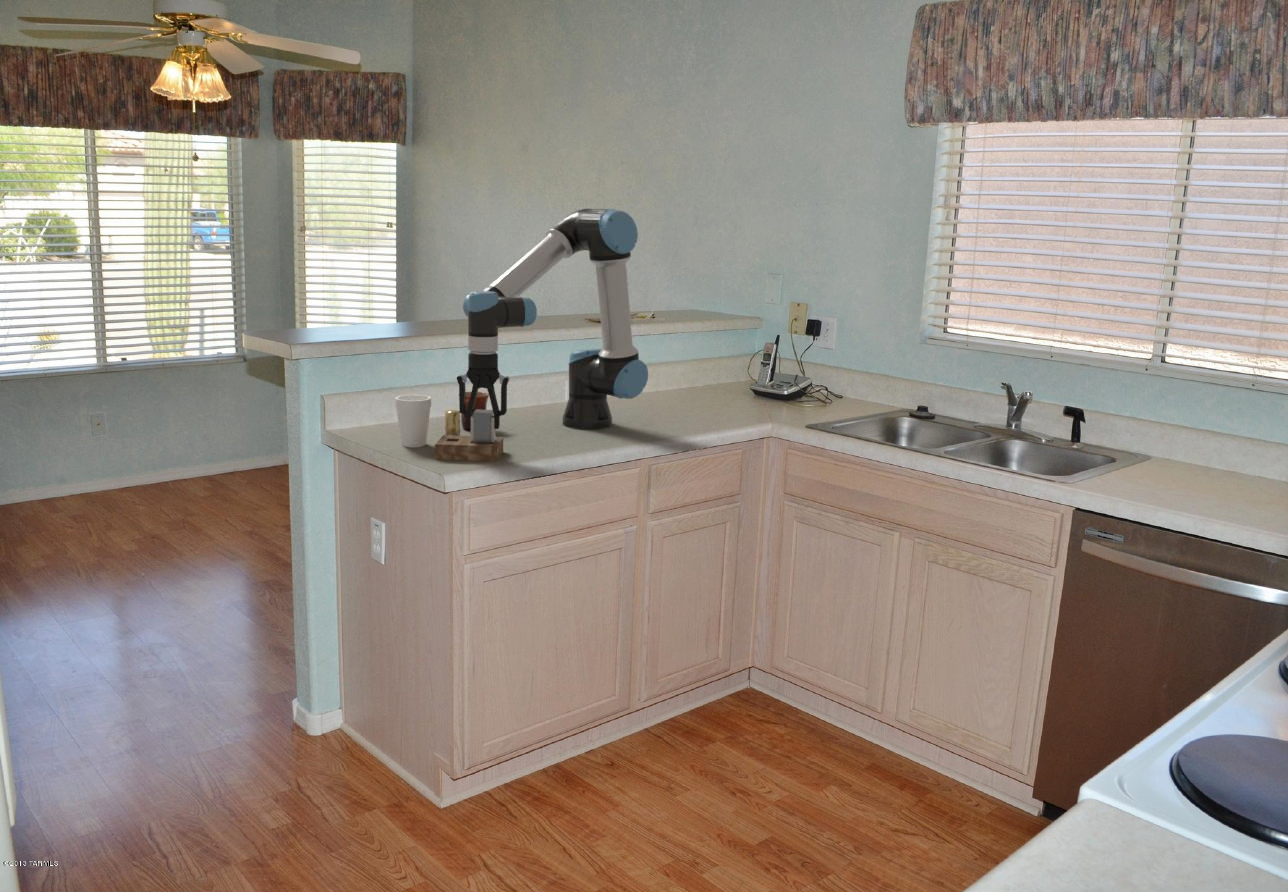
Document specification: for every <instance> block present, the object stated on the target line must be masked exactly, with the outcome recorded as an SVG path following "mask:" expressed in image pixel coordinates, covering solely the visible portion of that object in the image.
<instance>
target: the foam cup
mask: <svg viewBox="0 0 1288 892" xmlns="http://www.w3.org/2000/svg"><path fill="white" fill-rule="evenodd" d="M394 399H395V401H394V402H395V409H396V413H397V423H398V427H399V435H400V439H401V441H400V442H401V446H403V447H405V448H421V447H425V446H426V445H427V440H428V439H427V438H428V429H429V422H430V414H431V413H430V412H431V408H432V397H431V396H429V395H425V394H403V395H398V396H396V397H395V398H394Z"/></svg>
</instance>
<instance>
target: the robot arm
mask: <svg viewBox="0 0 1288 892" xmlns="http://www.w3.org/2000/svg"><path fill="white" fill-rule="evenodd" d="M638 233H639V232H638V227H637V225H636V222H635V220H634V219H633V217H632V216H631V215H630V214H629V213H627V212H626V211H623V210H620V209H619V210H618V209H615V208H608V209H607V208H582V209H578V210H576V211H574V212H572V213H570V214H568V215H566V216H564V217H563V218H562V219H561V220H560V221H557V223H556V224H554V225H553V226H551V228H549V229H548V230H547V231H546V233H545V237H544V238H543V239H542V240H541V241H540V242H539V243H537V244H536V245H535V246H534V247H533V248H531V250H529V251H528V252H526V254H525V255H523V256H522V257H521V258H520V259H519V260H518V261H516V262H515V263H514V264H513V265H512V266H510V268H508V269H507V270H506V271H505V272H503V273H502V274H501V275H500V276H498V278H497V279H495V280H494V281H493V282H492V283H490V284H489V285H488V286H487V287H486V288H484V289H483V290H476V291H471V292H470V293H469V294H467V296H466V297H465V298H464V300H463V303H462V309H463V313H464V315H465V317H467V322H468V324H467V325H468V326H467V327H468V329H467V330H468V332H467V333H468V334H467V336H468V337H467V341H468V343H467V347H468V351H470V352H469V353H468V355H467V356H468V361H467V362H468V363H467V364H468V367H467V370H466V373H464V374H459V375H458V376H457V377H456V380H457V383H458V393H459V394H458V400H459V401H458V402H459V403H458V404H459V405H458V407H459V410H458V411H459V412H460V415H461V414H465V415H466V416H467V428H471V430H470V436H471V441H474V440H473V415H472V413H473V409H474V405H475V400H476V396H477V392H479V389H486V390H487V393H488V394H489V397H488V398H489V399H490V405H491V410H493V416H492V417H491V442H494V441H495V437H497V436H496V432H497V431H496V430H499V428H500V426H501V425H500V421H501V420H500V417H501V416H504V415H505V414H507V412H508V409H507V408H508V407H507V406H508V405H507V404H508V384H509V382H510V377H509V376H504V375H502V374H501V373H500V371H499V355H498V353H497V351H498V350H499V338H498V337H499V329H501V328H518V327H520V328H523V327H527V326H531V325H533V324H534V323H535V321H536V319H537V317H538V314H537V311H538V309H537V306H536V303H535V302H534V300H532V299H531V298H529V297H522V296H521V295H523V293H525V292H526V291H527V290H528V289H530V288H531V287H532V286H533V285H534V284H535V283H536V282H538V280H540V279H541V278H542V277H543V276H544V275H546V274H547V273H548V272H549V271H550V270H551V269H552V268H554V267H555V266H556V265H557V264H559V262H560V261H562V260H563V259H569V258H571V257H572V256H573V255H574V254H575V253H579V252H581V251H588V255H589V256H588V257H589V261H590V262H591V263H593V264H594V265H595V271H596V282H597V283H596V284H597V294H598V304H599V306H598V307H599V317H600V327H601V328H600V329H601V338H602V339H601V340H602V348H591V349H589V348H587V349H576V350H573V351H571V352H570V354H569V362H568V400H567V403H566V406H565V408H564V409H565V410H564V412H563V413H562V414H563V415H562V425H563V426H565V427H568V428H572V429H582V430H599V429H606V428H610V427H612V425H613V416H612V413H611V409H610V406H609V403H608V396H611V397H614V398H617V399H627V400H631V399H634V398H636V397H638V396H639V395H641V393H642V392H643V391H644V389H645V387H646V386H647V383H648V380H649V369H648V366H647V364H645V362H644V361H643V360H641V359H640V358H639V350H638V348H637V347H636V346H634V345H633V336H632V335H633V334H632V324H631V323H632V322H631V320H632V319H631V309H630V308H631V307H630V295H629V287H628V286H629V284H628V283H629V282H628V274H627V273H628V271H627V263H628V261H629V260H630V259H631V258H632V255H631V251H632V252H633V250H634V248H635V247H636V243H637V242H638V235H639V234H638ZM467 379H468V380H469V382H470V383H471V384H472V389H471V391H470V392H471V396H470V401H469V405H468V409H466V392H467V390H466V383H467ZM498 380H499V384H500V385H501V386H500V408H499V403H498V400H497V395H496V390H495V386H494V385H495V383H496V382H497V381H498Z"/></svg>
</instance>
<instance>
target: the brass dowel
mask: <svg viewBox="0 0 1288 892" xmlns="http://www.w3.org/2000/svg"><path fill="white" fill-rule="evenodd" d="M444 423H445V425H444V426H445V427H444V428H445V431H444V432H445V434H444V435H455V436H461V413H460V412H459V410H457V409H456V410H455V409H448V410H445V412H444Z"/></svg>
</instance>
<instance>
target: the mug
mask: <svg viewBox="0 0 1288 892" xmlns="http://www.w3.org/2000/svg"><path fill="white" fill-rule="evenodd" d="M471 392H472V391H466V409H468V405H469V401H470V396H471ZM489 398H490V397H489V393H488V392H484V391H478V392H477V396H476V400H475V405H474V409H473V413H474V411H475V410H476V409H480V410H487V404H488V399H489ZM473 413H472V415H473ZM460 424H461V427H462V428H463V430H466V431H471V428H467V416H466V415H465V414H461V413H460Z"/></svg>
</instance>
